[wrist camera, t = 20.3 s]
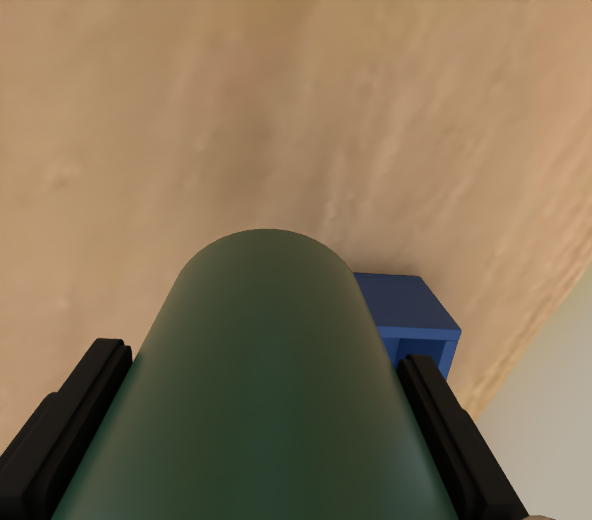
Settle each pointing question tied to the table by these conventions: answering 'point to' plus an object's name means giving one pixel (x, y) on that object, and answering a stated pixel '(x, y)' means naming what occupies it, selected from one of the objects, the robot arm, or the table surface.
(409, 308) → the blue storage box
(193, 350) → the green can
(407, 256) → the table surface
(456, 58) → the table surface
